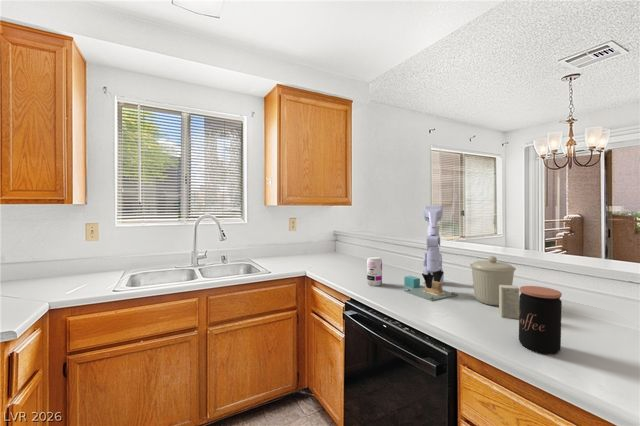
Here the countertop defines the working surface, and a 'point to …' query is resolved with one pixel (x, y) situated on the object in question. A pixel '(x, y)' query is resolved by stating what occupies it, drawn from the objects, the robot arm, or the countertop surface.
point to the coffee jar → (540, 319)
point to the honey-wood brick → (434, 288)
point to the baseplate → (430, 294)
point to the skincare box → (509, 301)
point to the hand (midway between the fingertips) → (432, 286)
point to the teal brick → (412, 281)
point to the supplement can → (374, 271)
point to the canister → (490, 279)
